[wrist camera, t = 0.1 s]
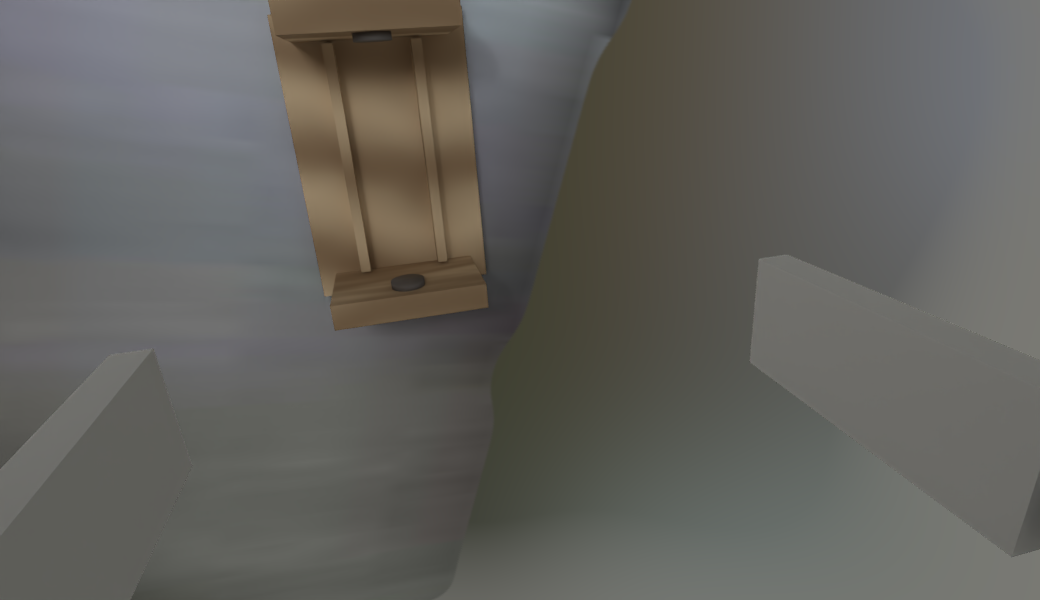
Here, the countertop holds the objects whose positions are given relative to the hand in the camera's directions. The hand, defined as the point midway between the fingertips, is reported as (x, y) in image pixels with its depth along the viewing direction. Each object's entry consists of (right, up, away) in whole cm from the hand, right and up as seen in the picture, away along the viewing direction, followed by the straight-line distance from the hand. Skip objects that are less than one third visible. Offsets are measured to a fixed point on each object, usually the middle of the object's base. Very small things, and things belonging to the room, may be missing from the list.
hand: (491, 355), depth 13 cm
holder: (-8, +10, +25) cm, 28 cm away
